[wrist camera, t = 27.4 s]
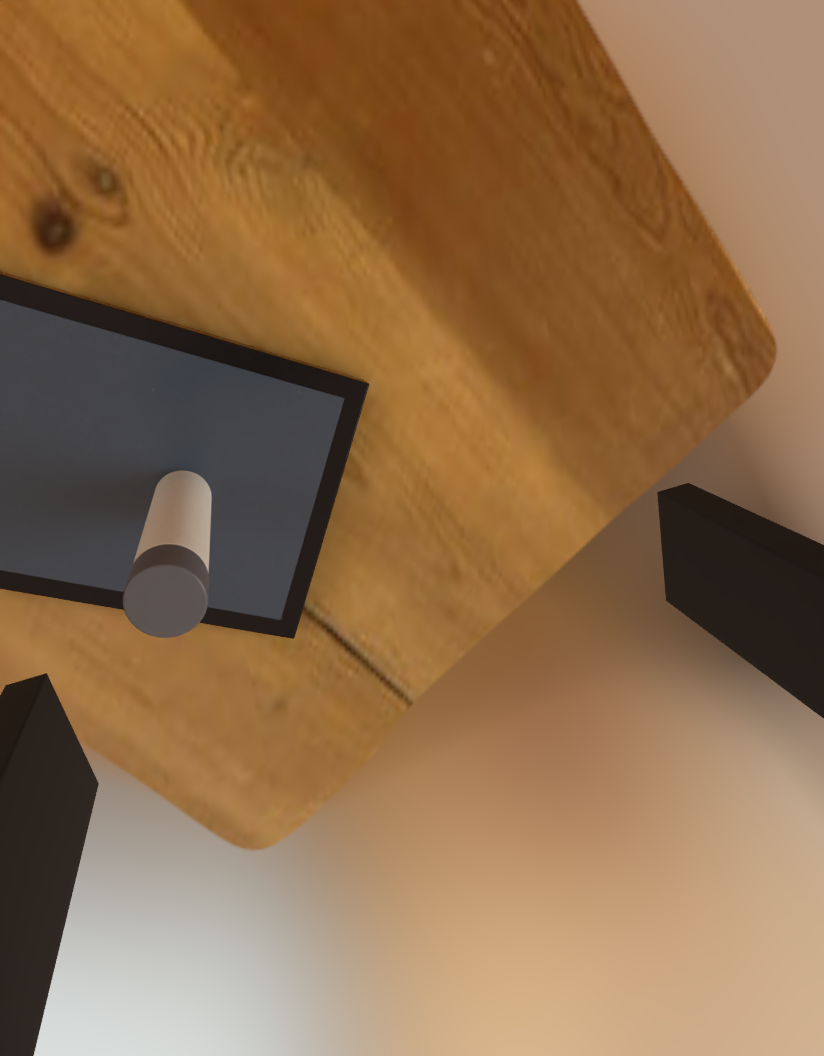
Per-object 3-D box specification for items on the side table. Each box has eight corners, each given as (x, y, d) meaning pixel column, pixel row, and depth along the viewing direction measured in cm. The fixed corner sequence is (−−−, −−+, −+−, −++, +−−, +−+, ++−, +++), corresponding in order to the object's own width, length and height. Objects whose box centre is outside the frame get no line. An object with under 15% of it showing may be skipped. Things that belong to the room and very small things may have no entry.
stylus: (218, 477, 35) (216, 574, 24) (204, 528, 35) (197, 645, 24) (160, 463, 34) (132, 557, 23) (148, 515, 34) (114, 631, 23)
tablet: (365, 380, 36) (370, 383, 35) (292, 629, 40) (294, 640, 38) (-41, 259, 30) (-51, 259, 29) (-84, 563, 34) (-96, 573, 33)
